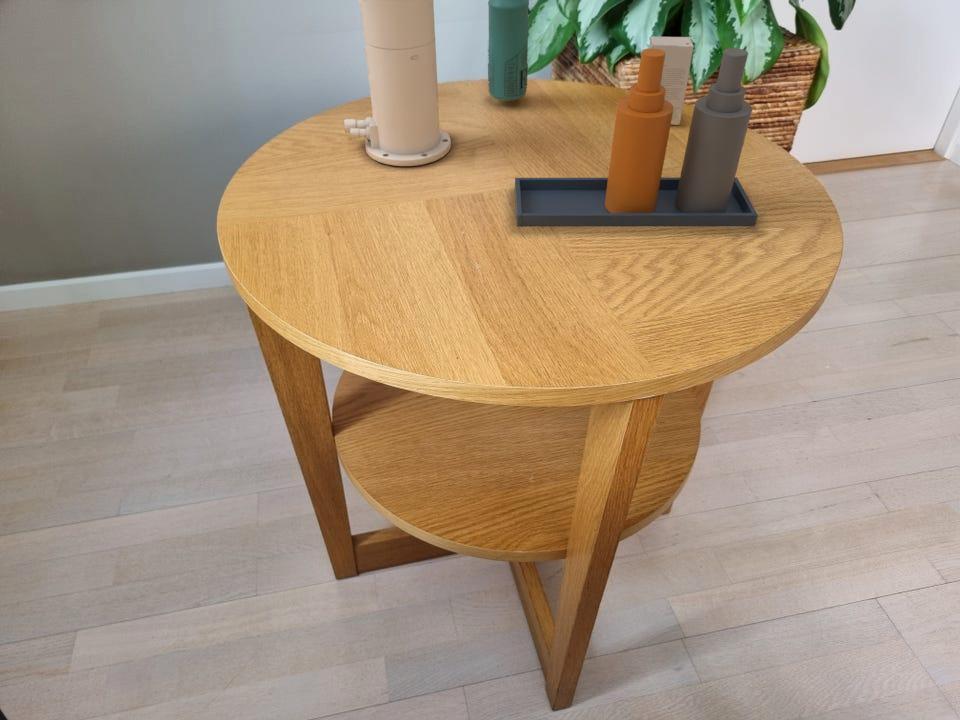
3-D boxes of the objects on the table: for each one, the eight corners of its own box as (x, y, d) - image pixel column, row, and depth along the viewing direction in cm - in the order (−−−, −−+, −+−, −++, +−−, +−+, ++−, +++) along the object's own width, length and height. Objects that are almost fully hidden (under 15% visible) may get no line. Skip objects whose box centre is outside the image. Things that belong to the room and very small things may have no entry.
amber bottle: (608, 219, 87) (628, 62, 74) (601, 193, 92) (620, 42, 79) (659, 219, 87) (689, 62, 74) (650, 193, 92) (677, 42, 79)
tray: (516, 231, 86) (517, 215, 85) (514, 193, 94) (515, 177, 92) (753, 231, 86) (758, 215, 85) (732, 192, 93) (737, 177, 92)
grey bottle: (680, 219, 87) (713, 62, 74) (670, 193, 92) (700, 42, 79) (732, 218, 87) (774, 61, 74) (719, 193, 92) (756, 41, 79)
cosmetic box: (677, 114, 112) (691, 36, 104) (679, 126, 109) (695, 46, 101) (638, 113, 113) (650, 35, 105) (640, 124, 110) (652, 44, 102)
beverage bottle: (523, 111, 114) (528, -26, 100) (483, 108, 115) (483, -28, 101) (529, 96, 118) (534, -37, 105) (491, 93, 119) (491, -38, 106)
